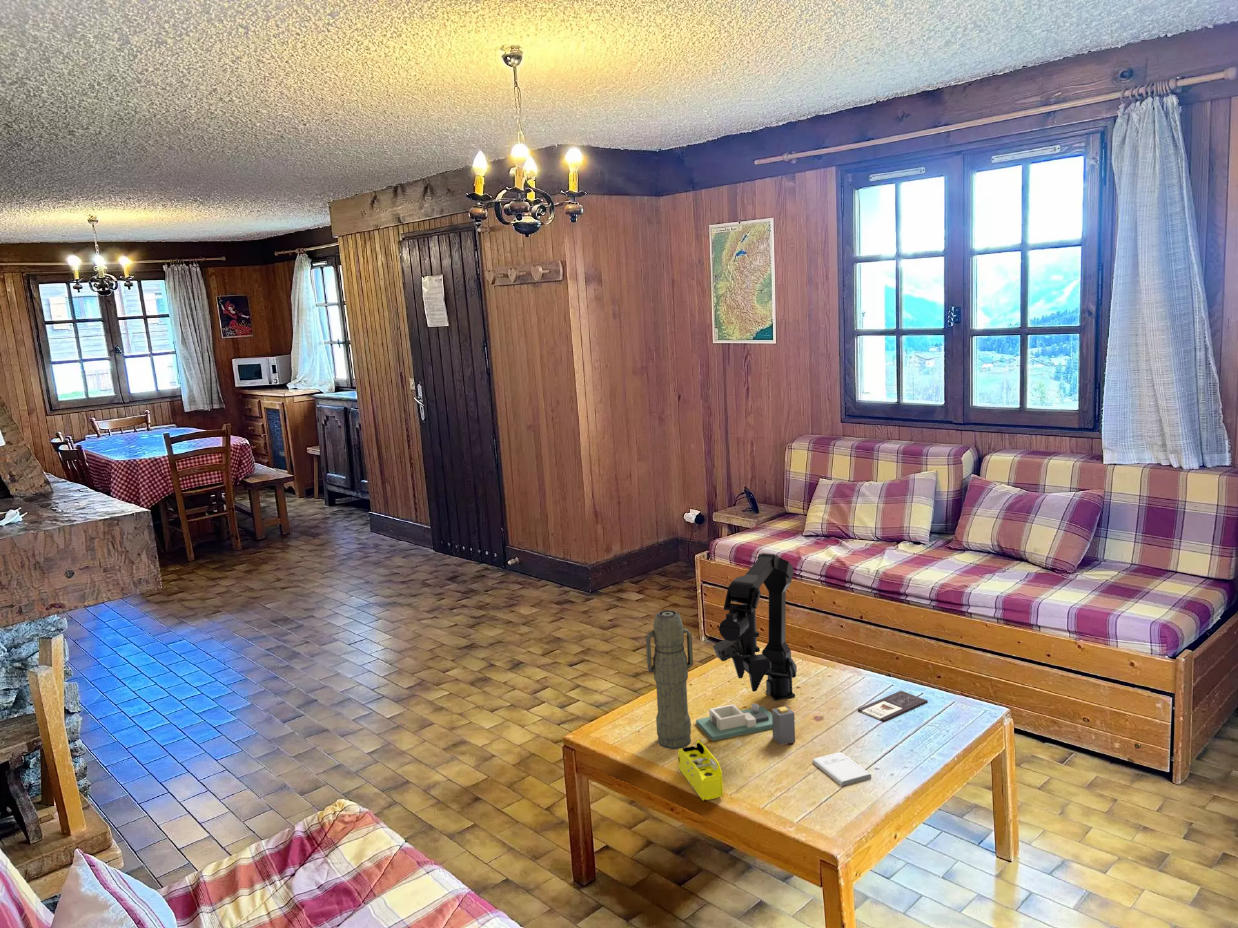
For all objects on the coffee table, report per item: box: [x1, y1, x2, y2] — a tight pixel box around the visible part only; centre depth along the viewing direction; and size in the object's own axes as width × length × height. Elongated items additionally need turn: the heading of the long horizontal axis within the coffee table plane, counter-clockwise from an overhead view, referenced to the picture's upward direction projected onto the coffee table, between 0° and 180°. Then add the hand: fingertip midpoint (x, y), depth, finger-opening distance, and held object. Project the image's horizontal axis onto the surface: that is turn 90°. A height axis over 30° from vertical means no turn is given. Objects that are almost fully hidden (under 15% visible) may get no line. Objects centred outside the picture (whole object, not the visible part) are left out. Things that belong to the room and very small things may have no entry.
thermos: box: [645, 609, 694, 750], centre depth 236 cm, size 9×12×35 cm
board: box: [695, 703, 773, 742], centre depth 245 cm, size 20×11×4 cm, turn 108°
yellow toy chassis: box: [677, 739, 724, 802], centre depth 216 cm, size 16×6×8 cm, turn 16°
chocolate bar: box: [857, 690, 928, 723], centre depth 251 cm, size 9×1×18 cm
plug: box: [771, 705, 796, 746], centre depth 235 cm, size 4×4×9 cm
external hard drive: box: [812, 751, 872, 787], centre depth 219 cm, size 2×8×12 cm
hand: (747, 684), depth 240 cm, fingers open, 9 cm apart
